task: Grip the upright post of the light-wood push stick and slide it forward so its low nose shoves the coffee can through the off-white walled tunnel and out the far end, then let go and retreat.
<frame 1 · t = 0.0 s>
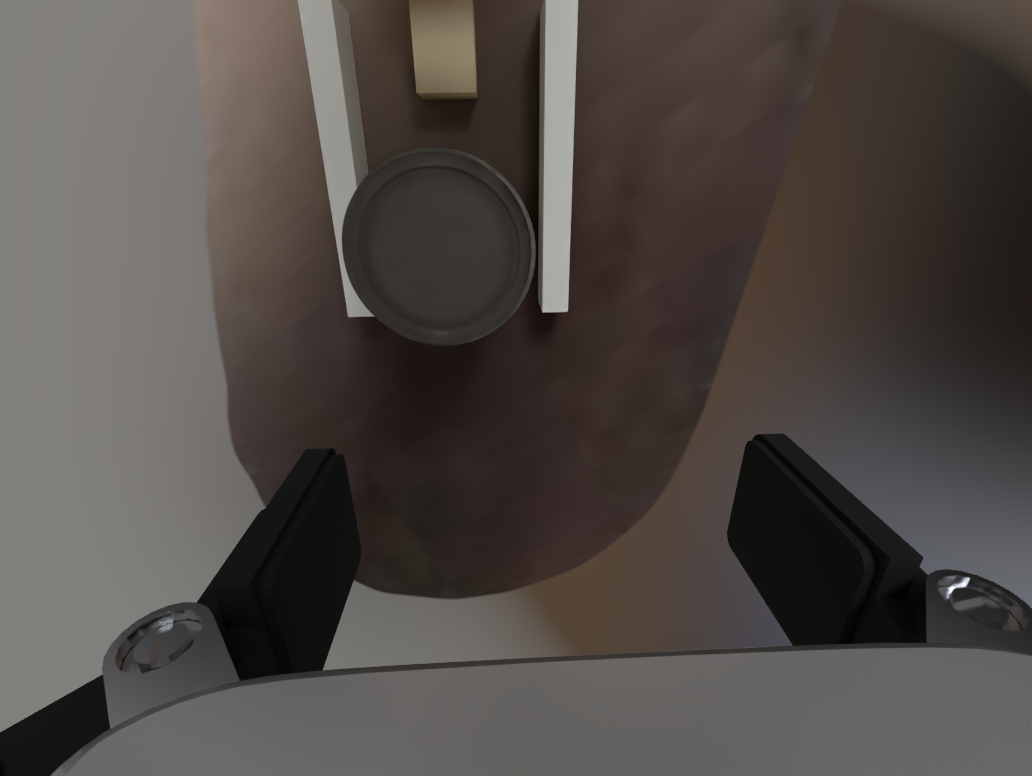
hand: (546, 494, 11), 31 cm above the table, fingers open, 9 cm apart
coffee can: (457, 227, 39), on the table
tunnel: (454, 173, 37), on the table
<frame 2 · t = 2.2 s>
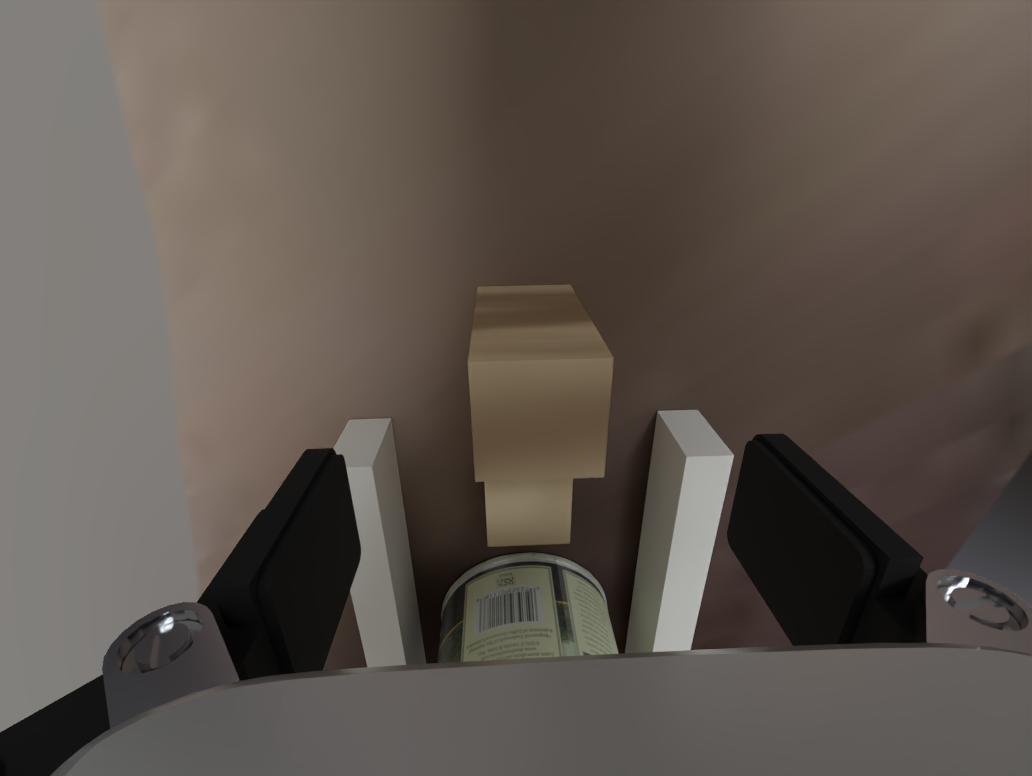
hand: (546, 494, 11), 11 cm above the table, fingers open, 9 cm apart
coffee can: (525, 610, 30), on the table
push stick: (524, 329, 22), on the table
tunnel: (525, 565, 28), on the table
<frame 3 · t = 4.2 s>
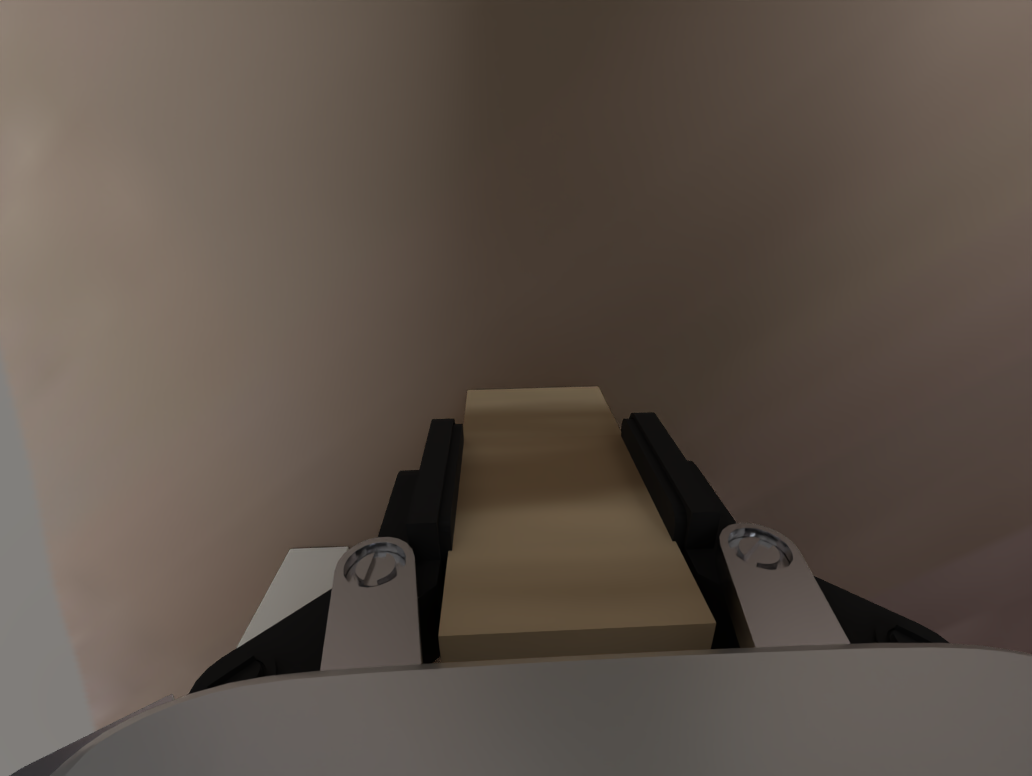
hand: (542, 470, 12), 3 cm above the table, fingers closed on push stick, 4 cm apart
push stick: (533, 444, 15), on the table, touching gripper
tunnel: (532, 717, 21), on the table
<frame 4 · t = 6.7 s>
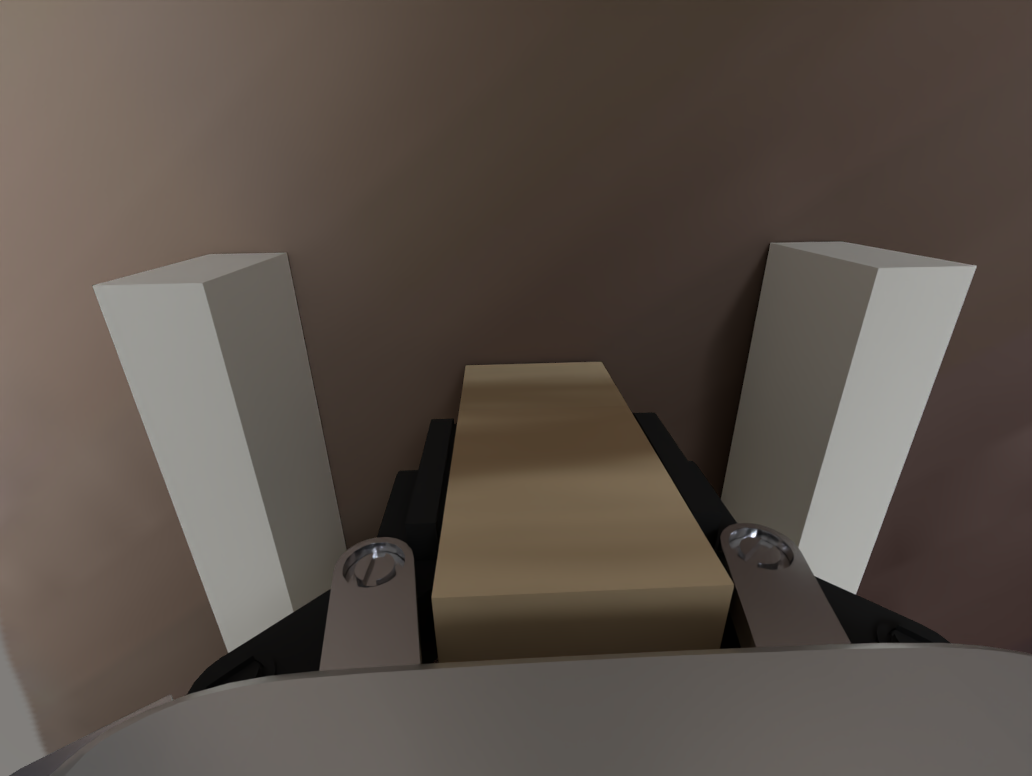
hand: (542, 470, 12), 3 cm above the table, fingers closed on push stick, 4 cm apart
push stick: (533, 423, 15), on the table, touching coffee can, gripper
tunnel: (532, 540, 17), on the table
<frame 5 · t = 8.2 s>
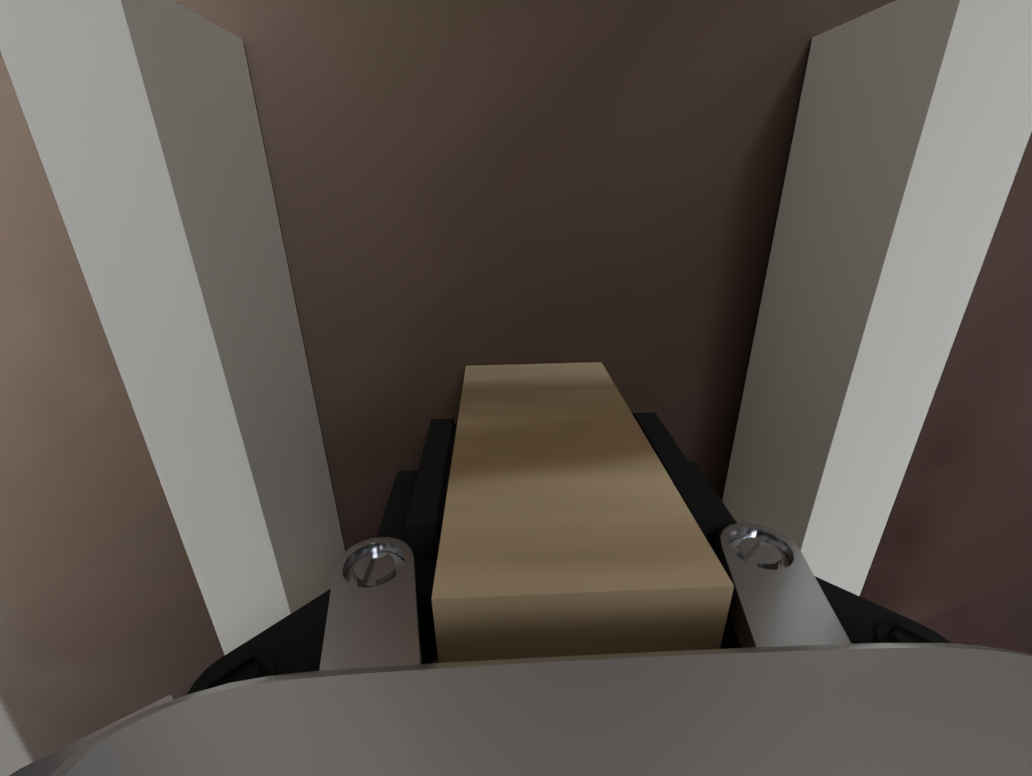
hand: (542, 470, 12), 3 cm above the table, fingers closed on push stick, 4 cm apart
push stick: (533, 424, 15), on the table, touching coffee can, gripper
tunnel: (532, 426, 15), on the table
when the fingers open (3 cm above the table, at t = 9.8 s): push stick stays where it is, on the table.
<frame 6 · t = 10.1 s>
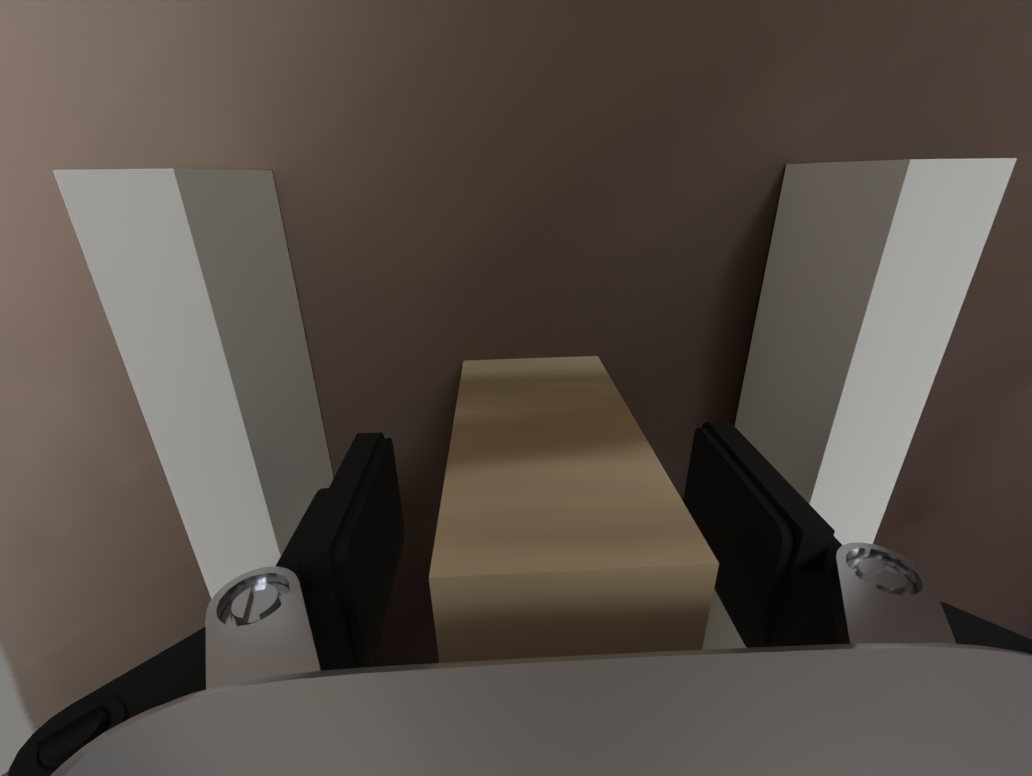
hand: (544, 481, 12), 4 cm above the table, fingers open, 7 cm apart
push stick: (531, 416, 15), on the table
tunnel: (533, 493, 16), on the table
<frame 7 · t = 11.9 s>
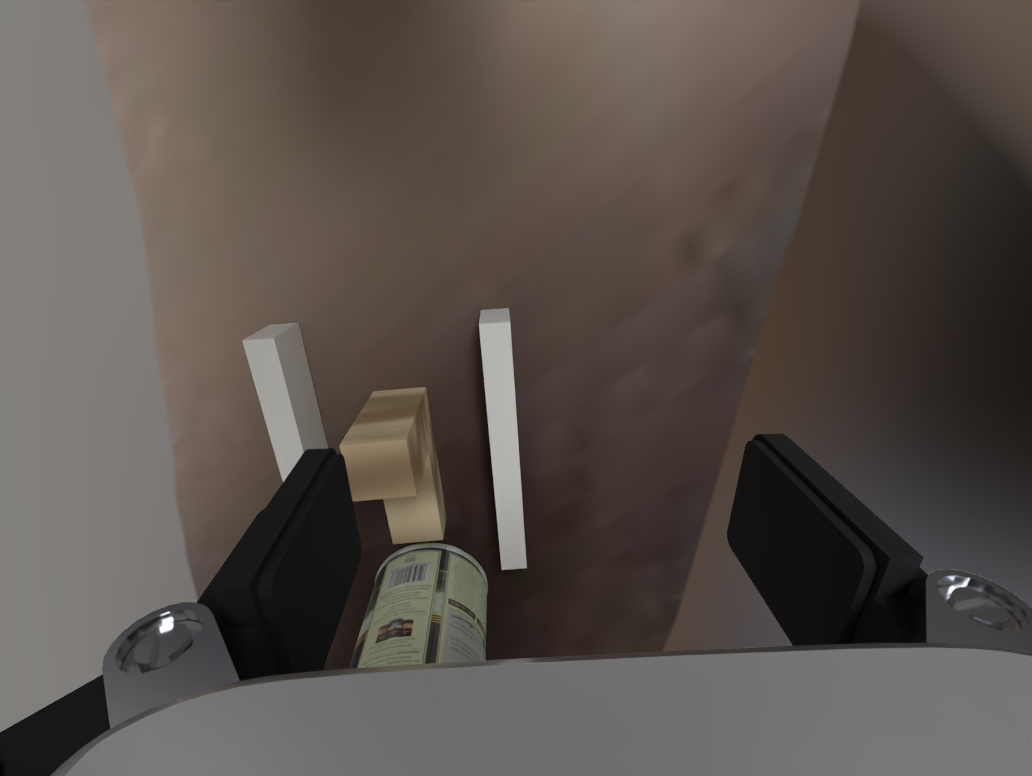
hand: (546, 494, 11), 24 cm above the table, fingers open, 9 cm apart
coffee can: (433, 584, 44), on the table
push stick: (404, 412, 37), on the table
tunnel: (410, 440, 38), on the table
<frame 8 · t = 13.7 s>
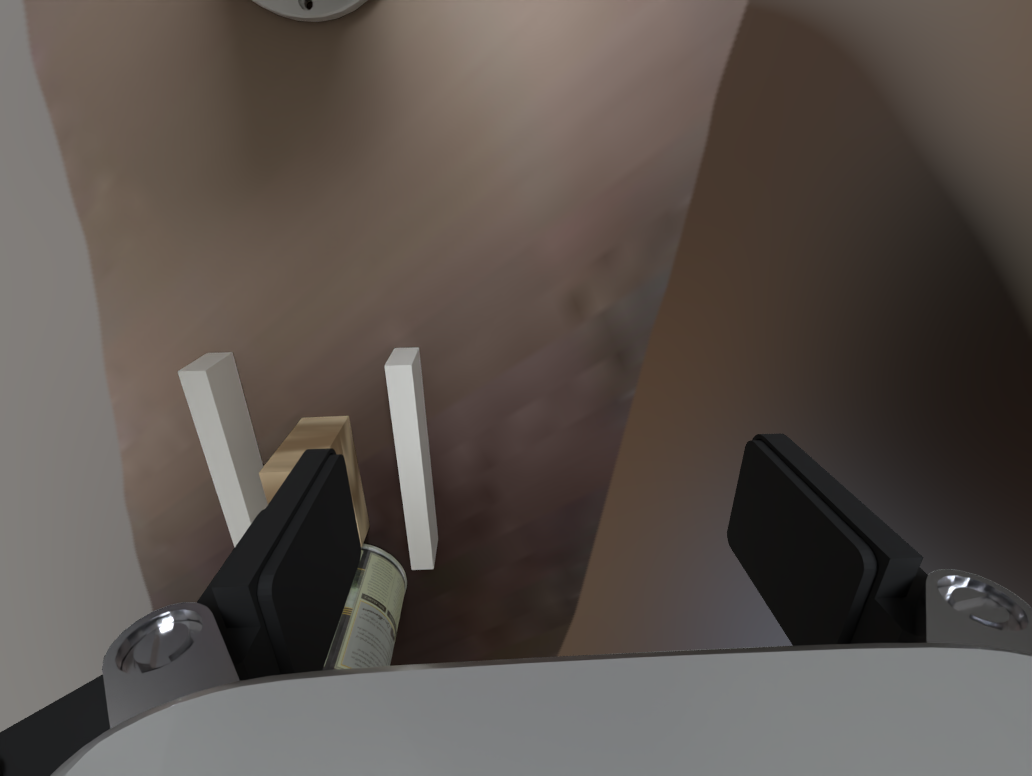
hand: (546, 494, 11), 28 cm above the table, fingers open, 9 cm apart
coffee can: (358, 578, 49), on the table
push stick: (330, 436, 42), on the table
tunnel: (334, 455, 43), on the table
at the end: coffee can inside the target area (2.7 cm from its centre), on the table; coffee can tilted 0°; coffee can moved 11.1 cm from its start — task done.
